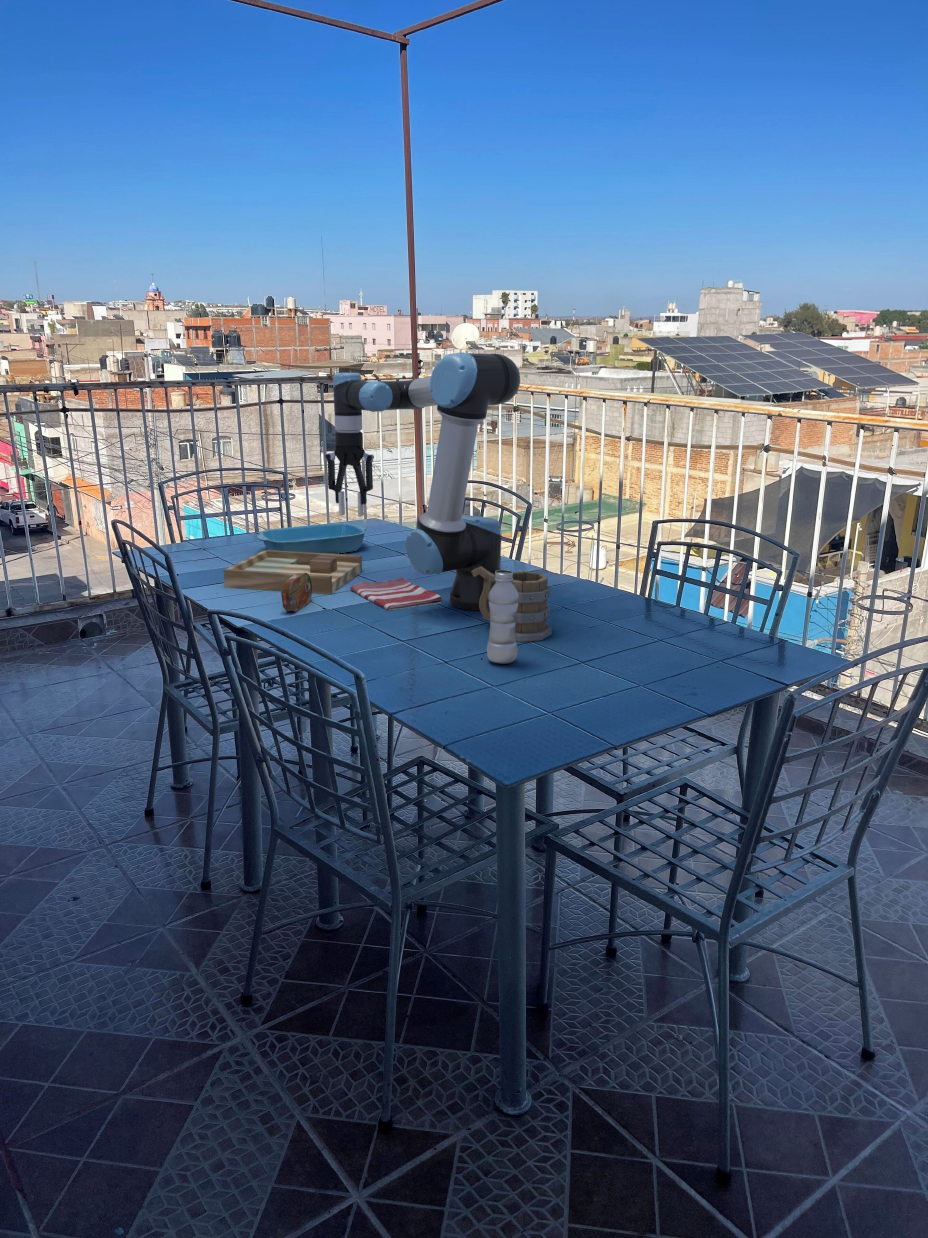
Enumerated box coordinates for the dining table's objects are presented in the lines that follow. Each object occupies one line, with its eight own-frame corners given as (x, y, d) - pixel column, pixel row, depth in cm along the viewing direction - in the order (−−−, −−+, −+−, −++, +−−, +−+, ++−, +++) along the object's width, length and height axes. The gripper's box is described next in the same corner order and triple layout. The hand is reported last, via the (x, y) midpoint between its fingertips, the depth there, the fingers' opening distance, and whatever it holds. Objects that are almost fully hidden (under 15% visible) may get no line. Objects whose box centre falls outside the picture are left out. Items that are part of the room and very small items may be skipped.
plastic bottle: (498, 654, 187) (500, 566, 181) (523, 661, 183) (526, 571, 177) (480, 662, 182) (481, 571, 177) (505, 669, 178) (507, 577, 172)
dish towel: (403, 584, 246) (403, 575, 245) (444, 604, 227) (444, 594, 226) (349, 592, 238) (349, 583, 237) (387, 613, 219) (387, 603, 218)
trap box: (330, 594, 233) (329, 576, 232) (224, 587, 240) (223, 570, 238) (362, 571, 259) (361, 555, 257) (265, 565, 265) (264, 549, 263)
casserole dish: (268, 564, 268) (266, 541, 266) (250, 550, 287) (249, 529, 285) (377, 553, 284) (376, 532, 282) (354, 540, 303) (353, 520, 301)
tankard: (558, 630, 204) (560, 570, 200) (534, 645, 194) (537, 581, 189) (485, 617, 214) (486, 559, 209) (459, 631, 203) (460, 570, 199)
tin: (291, 615, 214) (290, 583, 212) (280, 615, 215) (278, 582, 212) (313, 600, 228) (312, 569, 226) (302, 599, 229) (301, 568, 226)
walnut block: (329, 573, 243) (329, 562, 242) (310, 572, 244) (309, 560, 243) (337, 569, 249) (336, 557, 248) (317, 567, 250) (317, 556, 249)
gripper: (384, 430, 235) (385, 514, 242) (322, 429, 238) (326, 511, 245) (375, 433, 228) (377, 519, 235) (312, 431, 231) (316, 516, 238)
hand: (351, 515), depth 240 cm, fingers open, 5 cm apart
